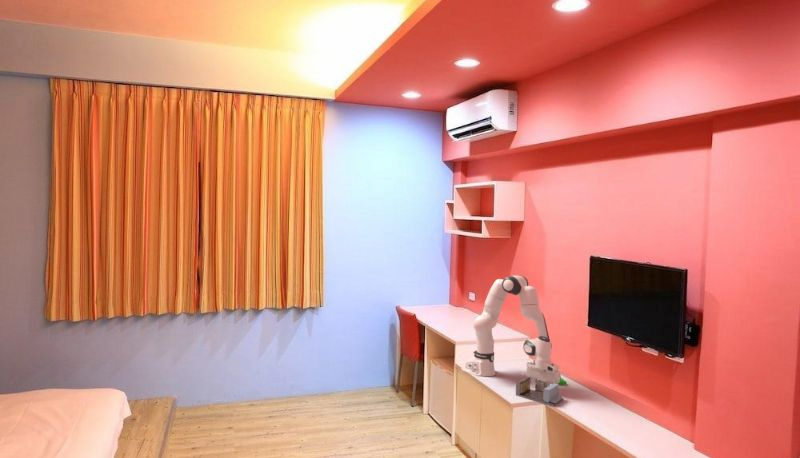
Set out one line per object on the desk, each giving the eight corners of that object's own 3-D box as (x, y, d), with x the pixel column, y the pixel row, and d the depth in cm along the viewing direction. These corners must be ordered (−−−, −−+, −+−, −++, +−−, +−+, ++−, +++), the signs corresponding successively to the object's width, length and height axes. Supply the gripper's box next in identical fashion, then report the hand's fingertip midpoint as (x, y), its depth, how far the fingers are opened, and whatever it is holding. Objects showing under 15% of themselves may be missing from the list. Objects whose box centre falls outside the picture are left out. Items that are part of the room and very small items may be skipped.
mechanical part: (566, 385, 304) (567, 372, 304) (557, 385, 304) (557, 372, 304) (559, 378, 316) (559, 366, 316) (550, 378, 316) (550, 366, 316)
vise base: (515, 395, 285) (516, 381, 284) (526, 389, 294) (526, 376, 294) (553, 406, 270) (554, 391, 269) (563, 400, 279) (563, 385, 279)
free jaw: (542, 400, 274) (543, 388, 274) (552, 394, 283) (552, 382, 283) (554, 404, 270) (554, 391, 269) (563, 397, 279) (563, 385, 279)
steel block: (535, 391, 292) (535, 381, 291) (541, 388, 298) (541, 378, 297) (543, 393, 288) (543, 383, 288) (548, 390, 294) (549, 380, 294)
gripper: (524, 361, 297) (523, 384, 297) (557, 369, 283) (556, 393, 284) (529, 359, 302) (528, 381, 302) (561, 367, 288) (560, 390, 289)
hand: (542, 387), depth 293 cm, fingers closed on steel block, 5 cm apart
